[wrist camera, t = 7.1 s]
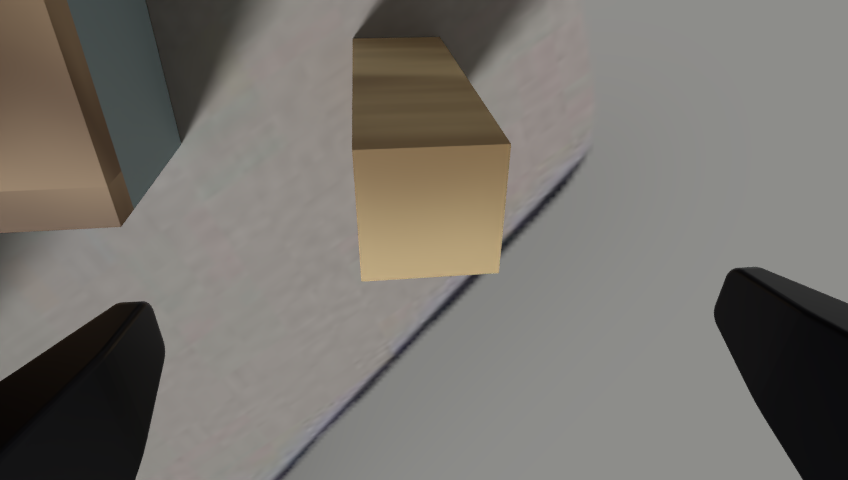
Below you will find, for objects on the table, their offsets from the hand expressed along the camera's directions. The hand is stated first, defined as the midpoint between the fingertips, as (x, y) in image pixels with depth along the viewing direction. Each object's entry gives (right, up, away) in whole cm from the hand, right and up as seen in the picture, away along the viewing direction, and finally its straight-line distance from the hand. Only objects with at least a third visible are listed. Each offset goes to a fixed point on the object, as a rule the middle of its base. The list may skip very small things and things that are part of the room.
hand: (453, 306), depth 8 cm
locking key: (-1, +7, +11) cm, 13 cm away
